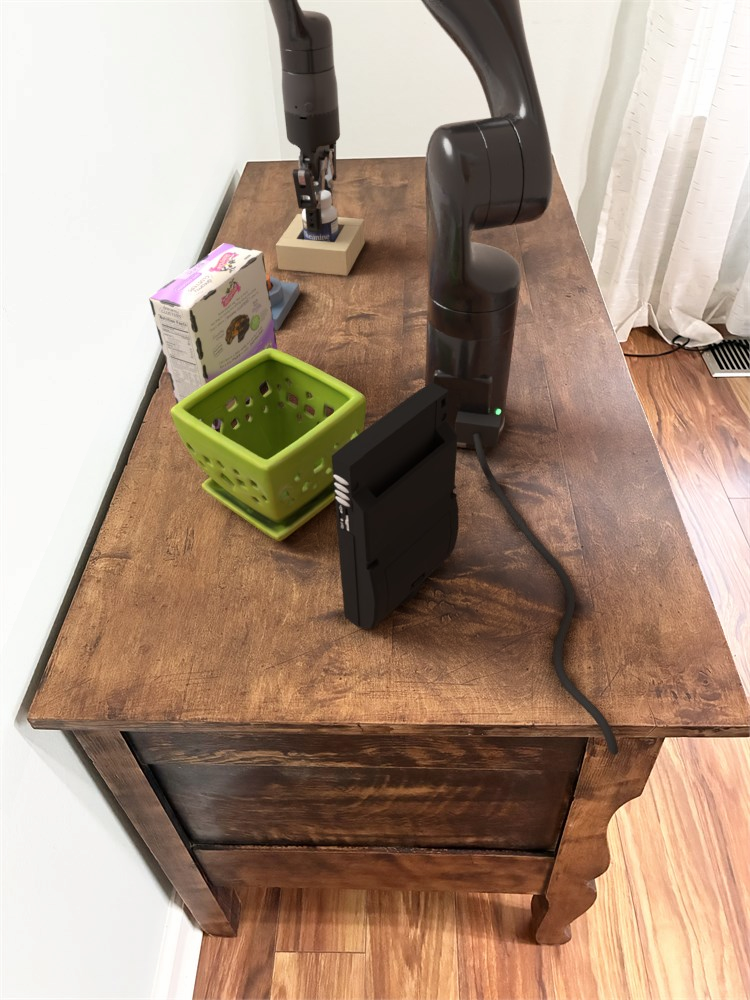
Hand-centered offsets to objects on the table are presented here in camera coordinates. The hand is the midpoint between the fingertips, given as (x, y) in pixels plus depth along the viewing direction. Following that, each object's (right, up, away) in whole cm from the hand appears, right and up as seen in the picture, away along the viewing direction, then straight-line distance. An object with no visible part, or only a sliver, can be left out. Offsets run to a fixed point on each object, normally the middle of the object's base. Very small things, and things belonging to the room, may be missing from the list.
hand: (320, 222), depth 115 cm
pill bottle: (0, -4, +4) cm, 6 cm away
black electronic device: (+11, -51, -44) cm, 68 cm away
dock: (0, -4, +4) cm, 5 cm away
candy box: (-9, -29, -21) cm, 37 cm away
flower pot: (-1, -42, -34) cm, 54 cm away
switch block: (-8, -15, -7) cm, 18 cm away
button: (-8, -13, -9) cm, 18 cm away
